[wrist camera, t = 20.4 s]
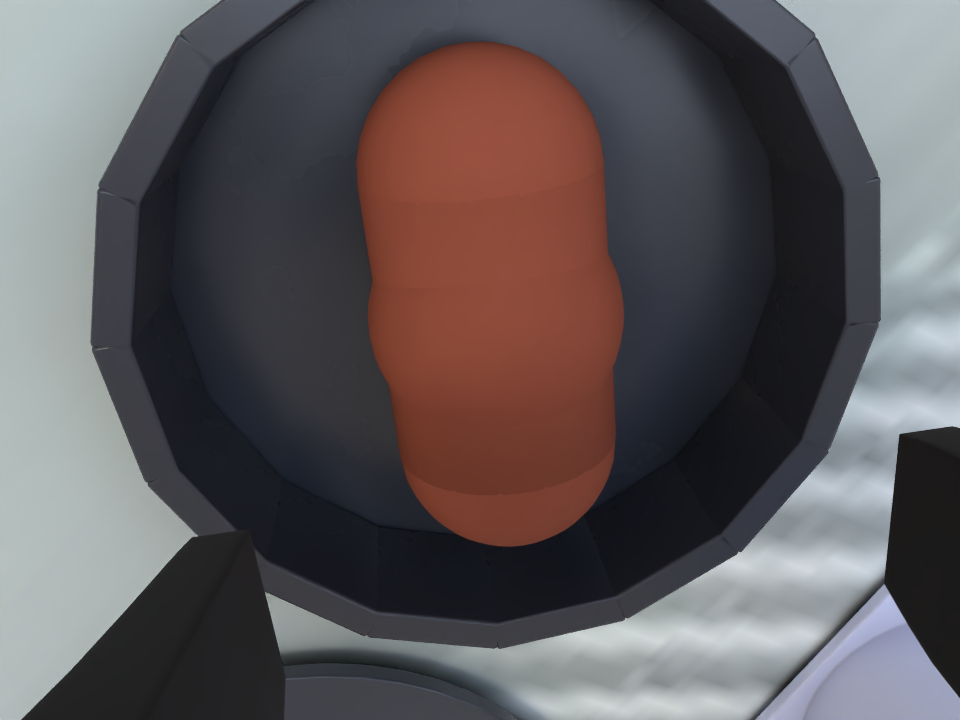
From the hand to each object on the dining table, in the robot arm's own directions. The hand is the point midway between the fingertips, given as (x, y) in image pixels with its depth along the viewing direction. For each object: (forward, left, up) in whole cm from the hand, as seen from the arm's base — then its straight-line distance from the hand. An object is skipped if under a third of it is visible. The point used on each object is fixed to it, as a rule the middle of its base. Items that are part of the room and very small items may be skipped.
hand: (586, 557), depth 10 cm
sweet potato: (0, 0, -10) cm, 10 cm away
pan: (0, 0, -10) cm, 10 cm away
